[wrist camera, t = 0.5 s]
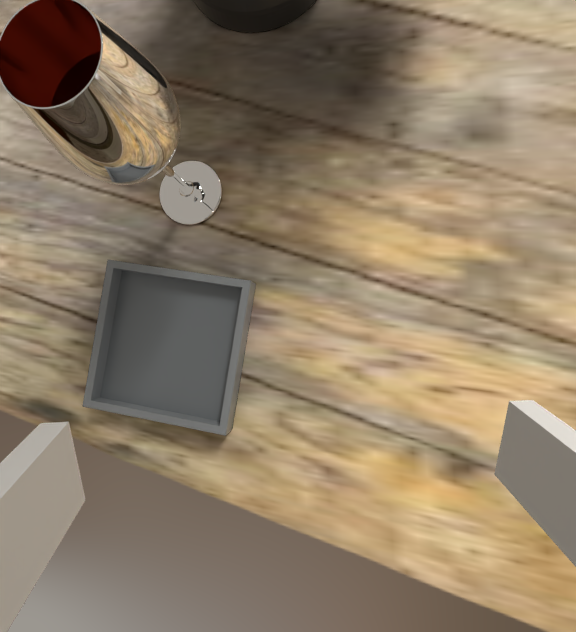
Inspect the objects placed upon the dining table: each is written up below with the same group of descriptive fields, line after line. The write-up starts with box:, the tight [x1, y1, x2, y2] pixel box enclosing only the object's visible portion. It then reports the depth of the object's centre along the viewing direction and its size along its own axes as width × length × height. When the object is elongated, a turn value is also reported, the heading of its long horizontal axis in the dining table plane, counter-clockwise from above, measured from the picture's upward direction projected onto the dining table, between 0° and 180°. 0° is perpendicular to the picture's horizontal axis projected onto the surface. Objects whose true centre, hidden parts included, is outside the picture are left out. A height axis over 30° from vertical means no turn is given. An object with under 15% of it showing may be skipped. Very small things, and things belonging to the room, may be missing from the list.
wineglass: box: [0, 0, 222, 225], centre depth 26 cm, size 8×8×18 cm
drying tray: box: [83, 260, 256, 436], centre depth 34 cm, size 14×14×2 cm
